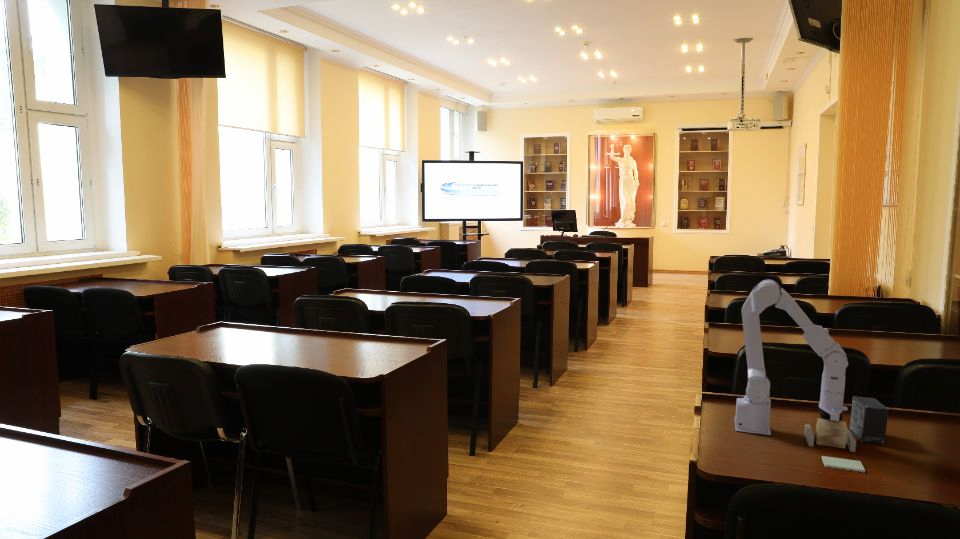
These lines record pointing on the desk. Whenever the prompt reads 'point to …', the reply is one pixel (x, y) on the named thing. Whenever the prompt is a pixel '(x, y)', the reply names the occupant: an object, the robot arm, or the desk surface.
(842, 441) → the block
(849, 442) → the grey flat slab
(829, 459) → the mat
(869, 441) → the small box
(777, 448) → the desk surface
